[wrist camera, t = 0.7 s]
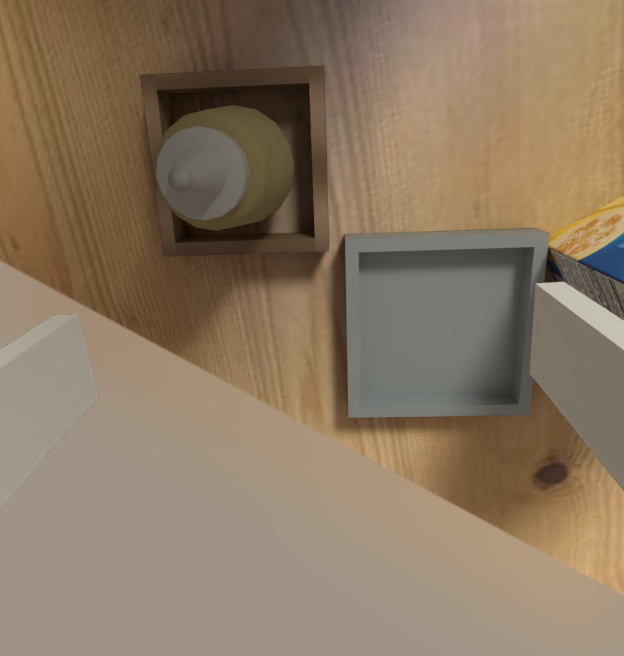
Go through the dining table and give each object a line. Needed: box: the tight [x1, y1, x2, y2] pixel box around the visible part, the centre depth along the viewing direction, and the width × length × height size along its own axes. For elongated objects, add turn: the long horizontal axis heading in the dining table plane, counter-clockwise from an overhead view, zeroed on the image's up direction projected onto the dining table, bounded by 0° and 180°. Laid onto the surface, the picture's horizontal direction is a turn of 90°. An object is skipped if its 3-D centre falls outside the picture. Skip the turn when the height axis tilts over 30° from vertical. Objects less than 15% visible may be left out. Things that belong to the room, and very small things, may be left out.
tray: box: [345, 228, 550, 418], centre depth 43 cm, size 15×15×2 cm
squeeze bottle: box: [155, 105, 294, 231], centre depth 32 cm, size 8×8×18 cm
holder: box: [140, 66, 329, 256], centre depth 39 cm, size 12×12×3 cm
